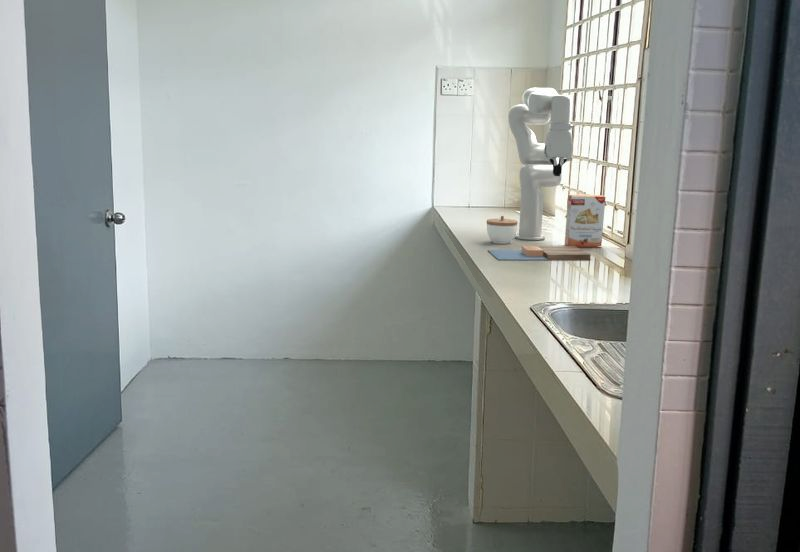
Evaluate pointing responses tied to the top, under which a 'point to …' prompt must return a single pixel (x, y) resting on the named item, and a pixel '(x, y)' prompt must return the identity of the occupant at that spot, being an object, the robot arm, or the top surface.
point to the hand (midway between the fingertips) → (556, 175)
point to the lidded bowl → (501, 230)
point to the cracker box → (584, 220)
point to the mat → (513, 255)
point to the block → (532, 251)
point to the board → (564, 253)
